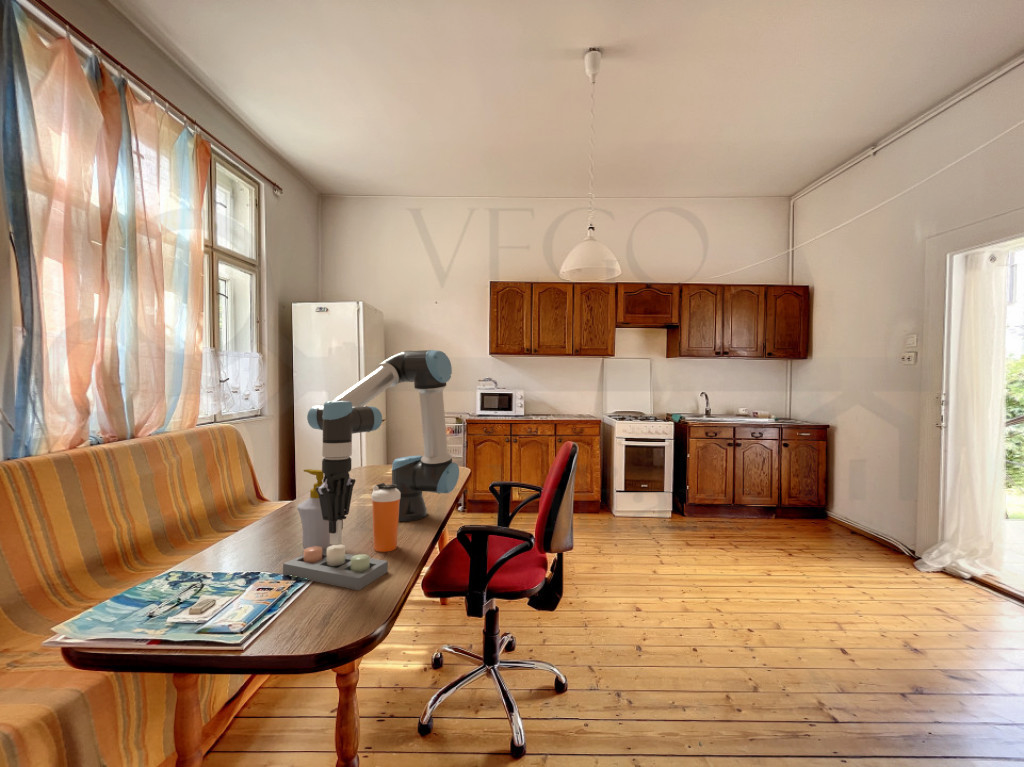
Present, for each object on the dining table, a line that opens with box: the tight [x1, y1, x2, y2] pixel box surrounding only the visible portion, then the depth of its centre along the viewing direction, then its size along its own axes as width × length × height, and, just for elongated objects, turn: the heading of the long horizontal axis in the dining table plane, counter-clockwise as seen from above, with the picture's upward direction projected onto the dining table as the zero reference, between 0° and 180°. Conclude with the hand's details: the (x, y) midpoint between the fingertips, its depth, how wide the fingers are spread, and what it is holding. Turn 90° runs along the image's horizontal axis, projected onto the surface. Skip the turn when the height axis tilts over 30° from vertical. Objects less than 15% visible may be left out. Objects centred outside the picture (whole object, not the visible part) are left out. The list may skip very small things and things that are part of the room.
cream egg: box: [327, 544, 346, 566], centre depth 125 cm, size 5×5×4 cm
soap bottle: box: [296, 468, 333, 550], centre depth 143 cm, size 13×13×25 cm
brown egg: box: [303, 546, 322, 564], centre depth 127 cm, size 5×5×4 cm
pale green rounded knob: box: [351, 553, 371, 573], centre depth 122 cm, size 5×5×4 cm
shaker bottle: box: [370, 482, 401, 553], centre depth 144 cm, size 9×9×20 cm
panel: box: [282, 550, 389, 591], centre depth 125 cm, size 12×25×3 cm, turn 70°
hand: (335, 543), depth 124 cm, fingers closed
